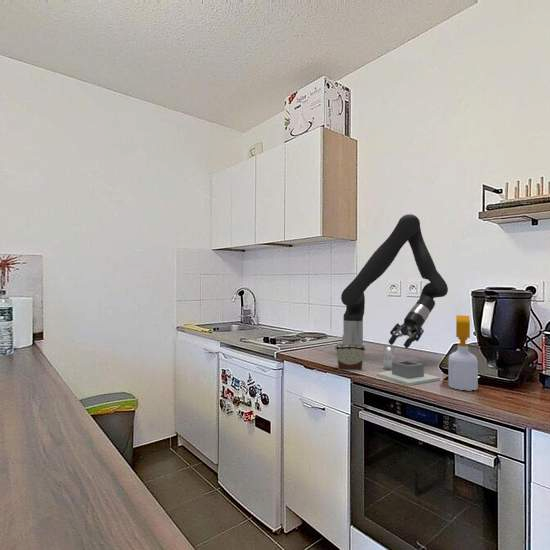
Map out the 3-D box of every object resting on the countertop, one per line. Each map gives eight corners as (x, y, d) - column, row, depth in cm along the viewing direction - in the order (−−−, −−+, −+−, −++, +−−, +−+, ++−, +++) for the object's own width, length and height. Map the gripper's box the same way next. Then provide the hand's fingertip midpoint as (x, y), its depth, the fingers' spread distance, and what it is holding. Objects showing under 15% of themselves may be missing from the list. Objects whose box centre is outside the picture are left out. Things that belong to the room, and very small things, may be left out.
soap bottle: (476, 385, 134) (476, 315, 134) (478, 392, 126) (478, 317, 126) (448, 382, 138) (448, 314, 138) (448, 389, 130) (448, 316, 130)
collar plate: (376, 375, 148) (376, 361, 148) (406, 371, 155) (406, 357, 155) (408, 385, 134) (408, 369, 134) (440, 380, 141) (440, 365, 141)
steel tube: (381, 368, 160) (381, 346, 160) (388, 367, 162) (388, 346, 162) (388, 370, 156) (388, 348, 156) (395, 369, 158) (396, 347, 158)
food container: (363, 367, 162) (363, 343, 162) (365, 370, 156) (365, 345, 156) (334, 366, 163) (334, 342, 163) (334, 369, 157) (334, 345, 157)
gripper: (400, 309, 172) (380, 337, 166) (426, 312, 159) (405, 341, 154) (408, 321, 174) (389, 348, 169) (435, 324, 162) (415, 353, 156)
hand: (397, 345), depth 161 cm, fingers open, 8 cm apart
